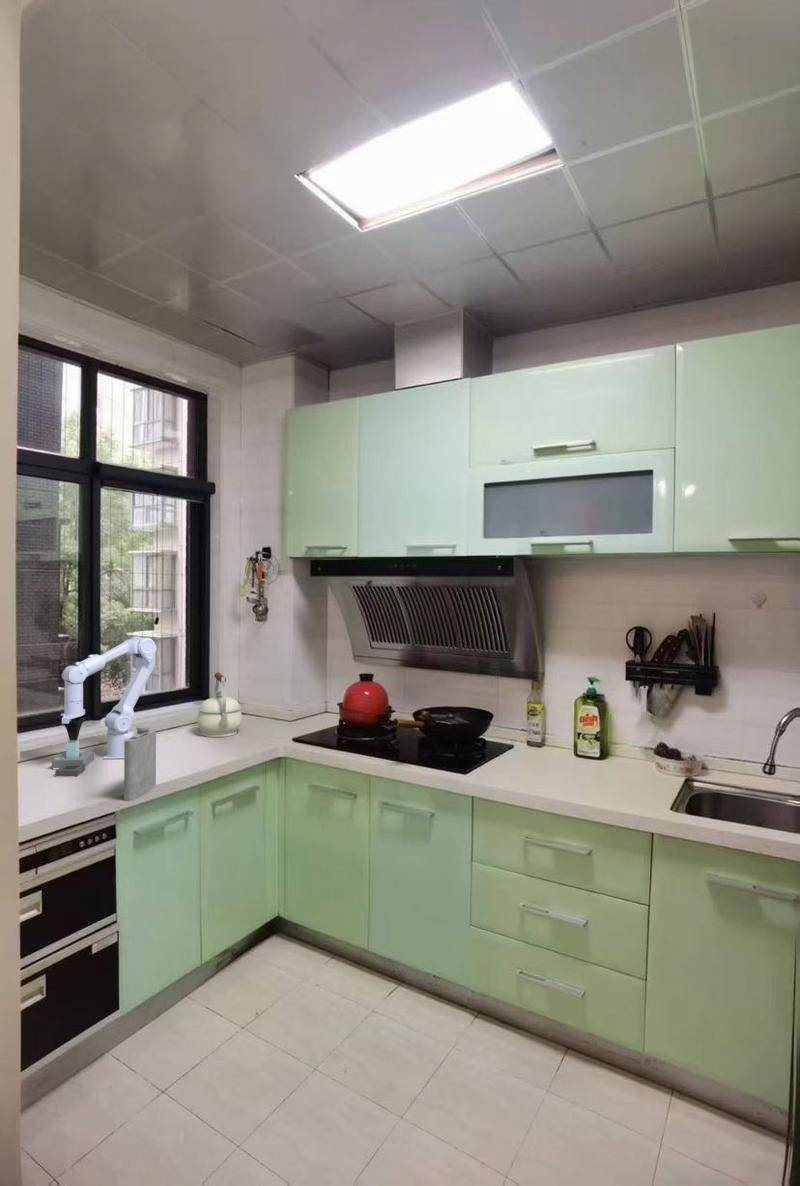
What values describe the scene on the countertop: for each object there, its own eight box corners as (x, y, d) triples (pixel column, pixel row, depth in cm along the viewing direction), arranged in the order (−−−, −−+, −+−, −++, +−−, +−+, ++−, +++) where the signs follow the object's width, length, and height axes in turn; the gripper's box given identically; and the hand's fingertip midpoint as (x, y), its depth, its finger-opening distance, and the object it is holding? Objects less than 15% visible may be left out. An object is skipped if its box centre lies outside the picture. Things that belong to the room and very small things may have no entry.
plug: (79, 763, 218) (79, 738, 217) (75, 766, 215) (75, 740, 214) (70, 763, 217) (70, 738, 217) (66, 766, 214) (66, 740, 214)
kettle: (193, 729, 269) (194, 672, 268) (237, 726, 277) (237, 670, 276) (201, 743, 246) (202, 680, 246) (248, 739, 254) (249, 678, 253)
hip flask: (147, 783, 198) (148, 720, 197) (160, 783, 197) (160, 720, 197) (122, 800, 182) (122, 732, 181) (135, 801, 182) (135, 732, 181)
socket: (94, 760, 221) (94, 751, 221) (83, 768, 212) (83, 759, 211) (64, 760, 220) (64, 751, 220) (51, 769, 210) (51, 759, 210)
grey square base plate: (85, 770, 210) (85, 764, 210) (77, 776, 203) (77, 770, 203) (64, 770, 209) (64, 764, 209) (55, 776, 203) (55, 770, 203)
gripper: (70, 696, 222) (70, 734, 223) (52, 704, 208) (52, 745, 208) (91, 696, 223) (90, 734, 223) (74, 704, 209) (74, 745, 209)
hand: (73, 739), depth 216 cm, fingers closed, pressing on plug
